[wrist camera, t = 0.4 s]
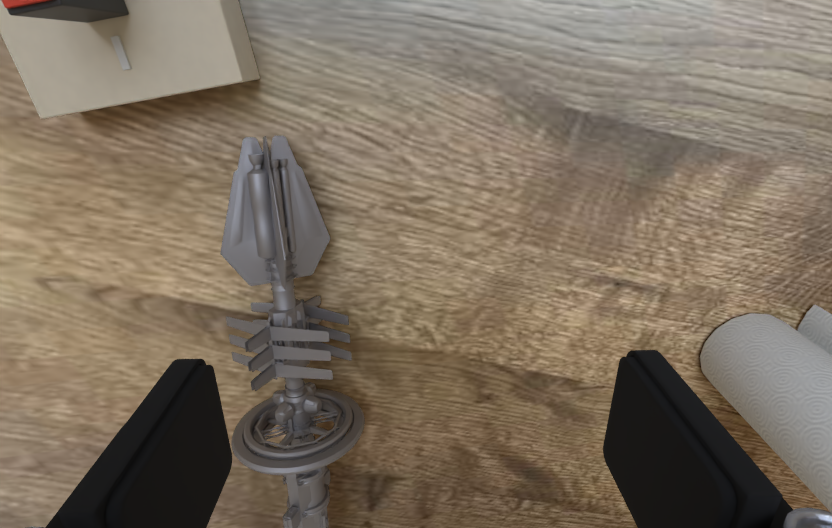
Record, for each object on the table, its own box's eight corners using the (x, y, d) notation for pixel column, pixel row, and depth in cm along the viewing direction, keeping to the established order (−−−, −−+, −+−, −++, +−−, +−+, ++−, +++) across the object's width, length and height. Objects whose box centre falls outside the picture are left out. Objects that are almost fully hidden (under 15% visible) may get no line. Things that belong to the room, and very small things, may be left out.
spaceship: (244, 669, 33) (346, 717, 30) (138, 142, 22) (282, 141, 19) (308, 570, 40) (396, 601, 37) (252, 133, 29) (370, 131, 26)
